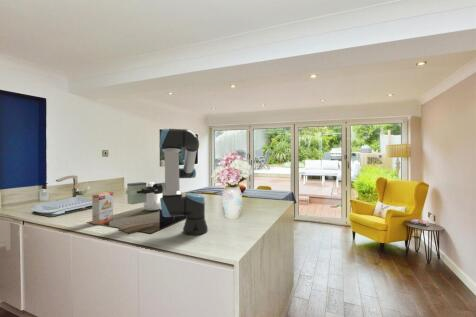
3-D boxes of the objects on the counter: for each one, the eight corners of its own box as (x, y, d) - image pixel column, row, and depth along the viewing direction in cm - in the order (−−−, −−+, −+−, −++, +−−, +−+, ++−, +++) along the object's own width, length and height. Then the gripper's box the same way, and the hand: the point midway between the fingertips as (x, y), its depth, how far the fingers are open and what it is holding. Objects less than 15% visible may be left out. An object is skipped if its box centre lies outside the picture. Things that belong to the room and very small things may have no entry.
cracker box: (99, 225, 165) (99, 194, 165) (92, 224, 166) (91, 194, 166) (113, 219, 179) (113, 191, 178) (106, 219, 180) (106, 191, 180)
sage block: (146, 202, 162) (146, 182, 162) (132, 204, 154) (132, 184, 154) (141, 201, 166) (141, 182, 165) (127, 203, 158) (127, 183, 158)
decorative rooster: (154, 213, 197) (153, 183, 196) (139, 211, 203) (138, 182, 202) (172, 206, 220) (172, 179, 220) (158, 205, 226) (158, 179, 225)
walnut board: (155, 226, 161) (155, 224, 161) (129, 233, 147) (128, 232, 147) (144, 223, 169) (144, 221, 169) (118, 229, 155) (118, 228, 155)
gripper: (168, 194, 168) (136, 199, 150) (152, 192, 179) (121, 196, 161) (167, 184, 168) (136, 187, 149) (152, 182, 179) (121, 185, 161)
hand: (128, 192), depth 155 cm, fingers closed on sage block, 6 cm apart
